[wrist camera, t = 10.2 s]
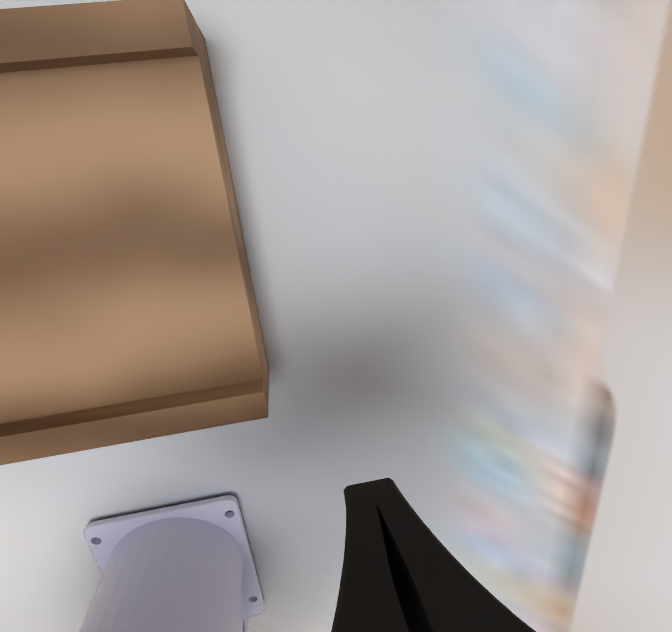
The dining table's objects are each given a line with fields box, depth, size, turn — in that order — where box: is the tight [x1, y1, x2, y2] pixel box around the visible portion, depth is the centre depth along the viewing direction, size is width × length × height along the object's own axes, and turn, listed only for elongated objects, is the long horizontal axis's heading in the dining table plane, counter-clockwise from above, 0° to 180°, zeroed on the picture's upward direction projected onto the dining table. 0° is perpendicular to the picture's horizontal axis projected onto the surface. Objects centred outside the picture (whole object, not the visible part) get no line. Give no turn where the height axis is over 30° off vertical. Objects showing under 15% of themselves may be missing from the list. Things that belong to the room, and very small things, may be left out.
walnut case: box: [0, 0, 269, 465], centre depth 15 cm, size 14×16×4 cm
